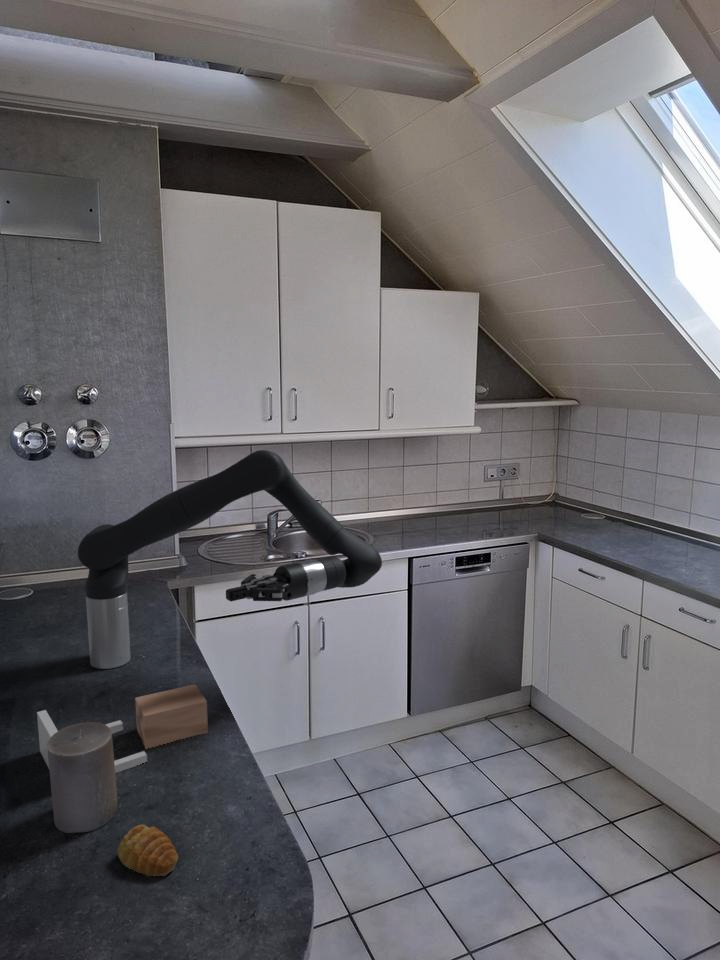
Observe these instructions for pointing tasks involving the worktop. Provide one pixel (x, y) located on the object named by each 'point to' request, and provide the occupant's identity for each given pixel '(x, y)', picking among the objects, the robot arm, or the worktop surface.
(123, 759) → the white frame piece
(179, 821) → the worktop surface
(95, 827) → the pillar candle
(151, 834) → the pastry
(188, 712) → the wooden block
